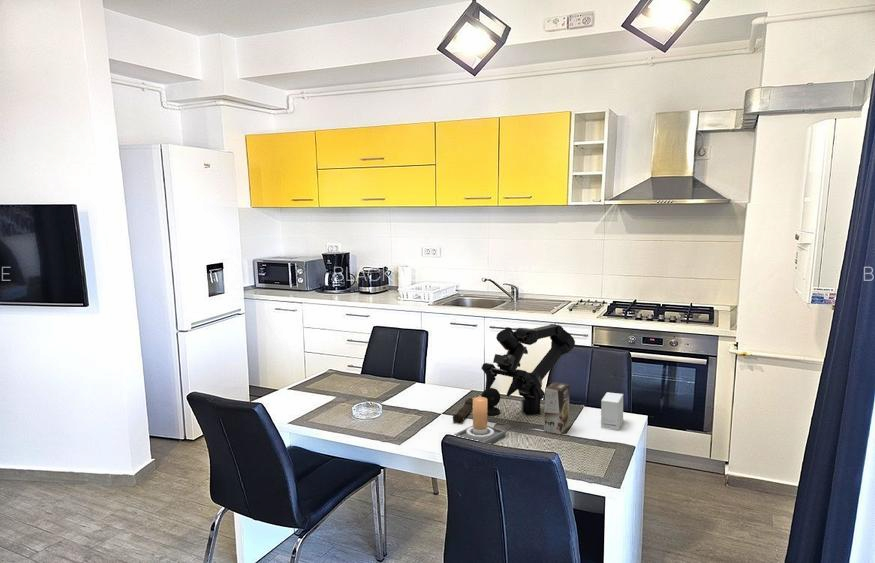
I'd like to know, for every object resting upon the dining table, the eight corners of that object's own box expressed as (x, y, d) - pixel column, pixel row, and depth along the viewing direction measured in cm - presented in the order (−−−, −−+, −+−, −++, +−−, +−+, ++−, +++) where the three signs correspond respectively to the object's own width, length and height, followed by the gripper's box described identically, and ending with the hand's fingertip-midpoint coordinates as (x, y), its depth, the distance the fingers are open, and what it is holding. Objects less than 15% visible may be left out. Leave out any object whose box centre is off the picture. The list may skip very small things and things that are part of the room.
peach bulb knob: (488, 433, 198) (488, 397, 196) (486, 438, 193) (486, 402, 192) (474, 431, 199) (474, 396, 198) (471, 437, 194) (471, 401, 193)
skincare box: (605, 418, 214) (606, 391, 213) (623, 421, 211) (624, 393, 210) (599, 427, 205) (600, 399, 203) (618, 430, 202) (619, 402, 200)
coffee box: (560, 435, 198) (561, 390, 196) (543, 431, 202) (544, 387, 200) (569, 426, 206) (570, 383, 204) (552, 423, 209) (553, 381, 207)
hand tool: (462, 425, 209) (462, 413, 208) (452, 423, 210) (452, 411, 210) (478, 408, 226) (478, 397, 226) (468, 407, 228) (469, 396, 227)
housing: (478, 427, 205) (478, 421, 205) (505, 436, 198) (505, 429, 197) (454, 439, 195) (453, 432, 195) (481, 449, 187) (481, 441, 187)
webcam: (497, 408, 225) (497, 384, 224) (503, 415, 218) (503, 390, 217) (478, 410, 224) (478, 385, 223) (483, 416, 217) (483, 391, 215)
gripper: (484, 341, 212) (466, 377, 205) (526, 349, 200) (509, 387, 193) (496, 357, 219) (479, 392, 212) (538, 365, 207) (521, 403, 200)
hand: (496, 393), depth 204 cm, fingers open, 9 cm apart
